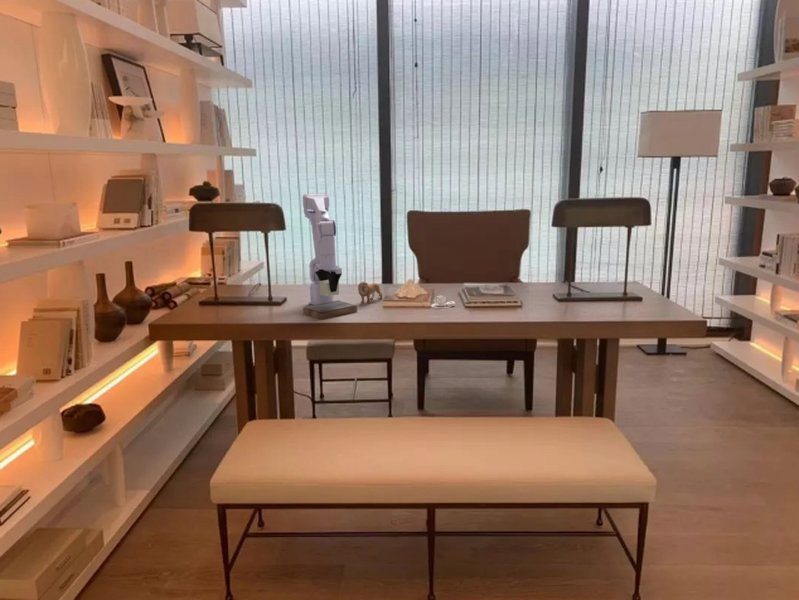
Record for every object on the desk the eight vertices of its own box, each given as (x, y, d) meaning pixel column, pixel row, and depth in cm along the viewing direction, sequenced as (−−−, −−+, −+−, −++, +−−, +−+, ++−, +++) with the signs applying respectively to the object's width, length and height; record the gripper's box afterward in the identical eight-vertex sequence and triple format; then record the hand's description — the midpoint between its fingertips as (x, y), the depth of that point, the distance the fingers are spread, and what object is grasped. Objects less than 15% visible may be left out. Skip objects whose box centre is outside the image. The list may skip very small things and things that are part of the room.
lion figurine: (367, 306, 244) (366, 283, 242) (355, 304, 247) (354, 282, 245) (385, 298, 257) (384, 276, 255) (373, 296, 259) (373, 275, 257)
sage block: (320, 294, 234) (319, 281, 233) (331, 292, 237) (330, 279, 236) (327, 296, 230) (327, 283, 229) (339, 294, 233) (338, 281, 232)
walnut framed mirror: (303, 313, 235) (302, 307, 234) (338, 306, 245) (338, 300, 244) (321, 319, 226) (320, 312, 225) (357, 311, 236) (356, 305, 235)
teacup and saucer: (457, 306, 243) (457, 295, 242) (447, 310, 236) (447, 299, 235) (437, 303, 248) (437, 293, 247) (427, 307, 241) (427, 297, 240)
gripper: (307, 253, 233) (309, 289, 236) (329, 257, 222) (331, 295, 225) (323, 251, 237) (325, 286, 240) (345, 255, 227) (347, 292, 230)
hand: (329, 290), depth 233 cm, fingers closed on sage block, 5 cm apart
